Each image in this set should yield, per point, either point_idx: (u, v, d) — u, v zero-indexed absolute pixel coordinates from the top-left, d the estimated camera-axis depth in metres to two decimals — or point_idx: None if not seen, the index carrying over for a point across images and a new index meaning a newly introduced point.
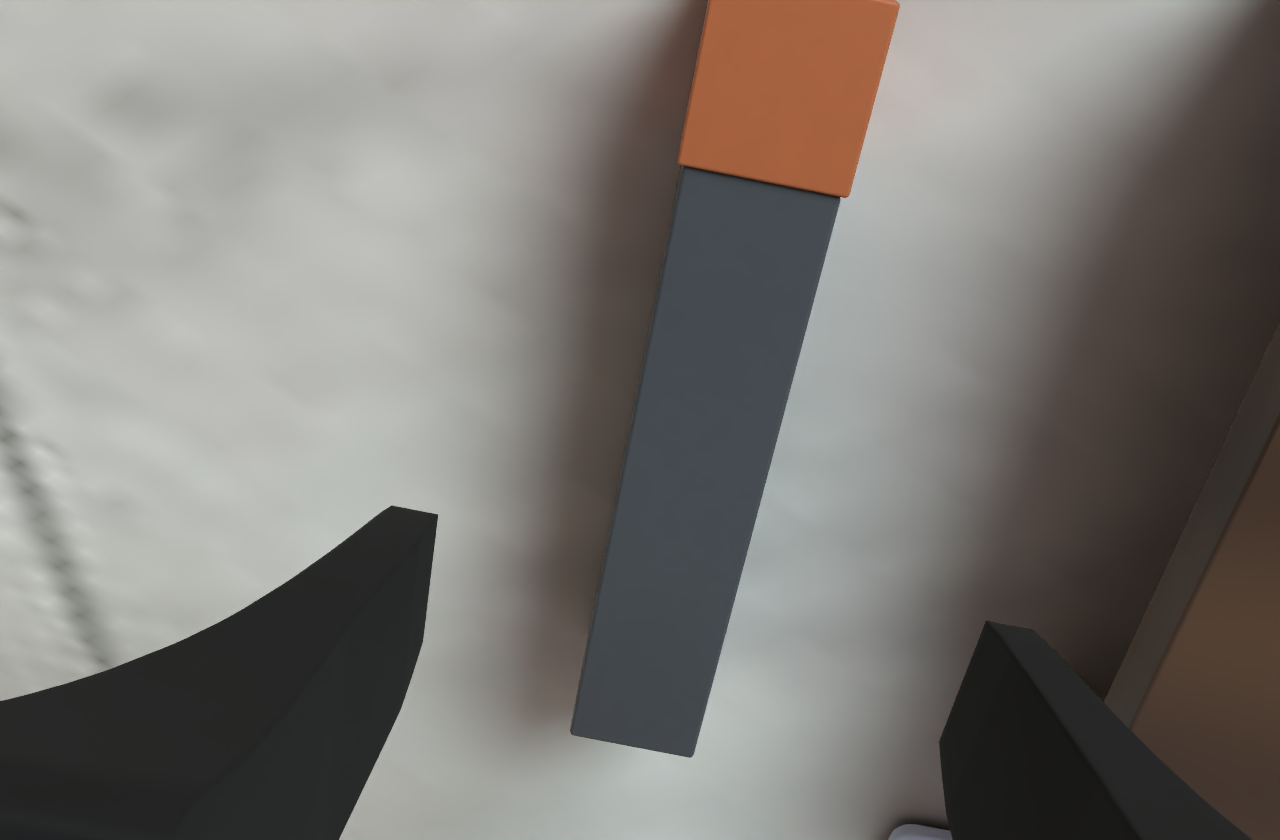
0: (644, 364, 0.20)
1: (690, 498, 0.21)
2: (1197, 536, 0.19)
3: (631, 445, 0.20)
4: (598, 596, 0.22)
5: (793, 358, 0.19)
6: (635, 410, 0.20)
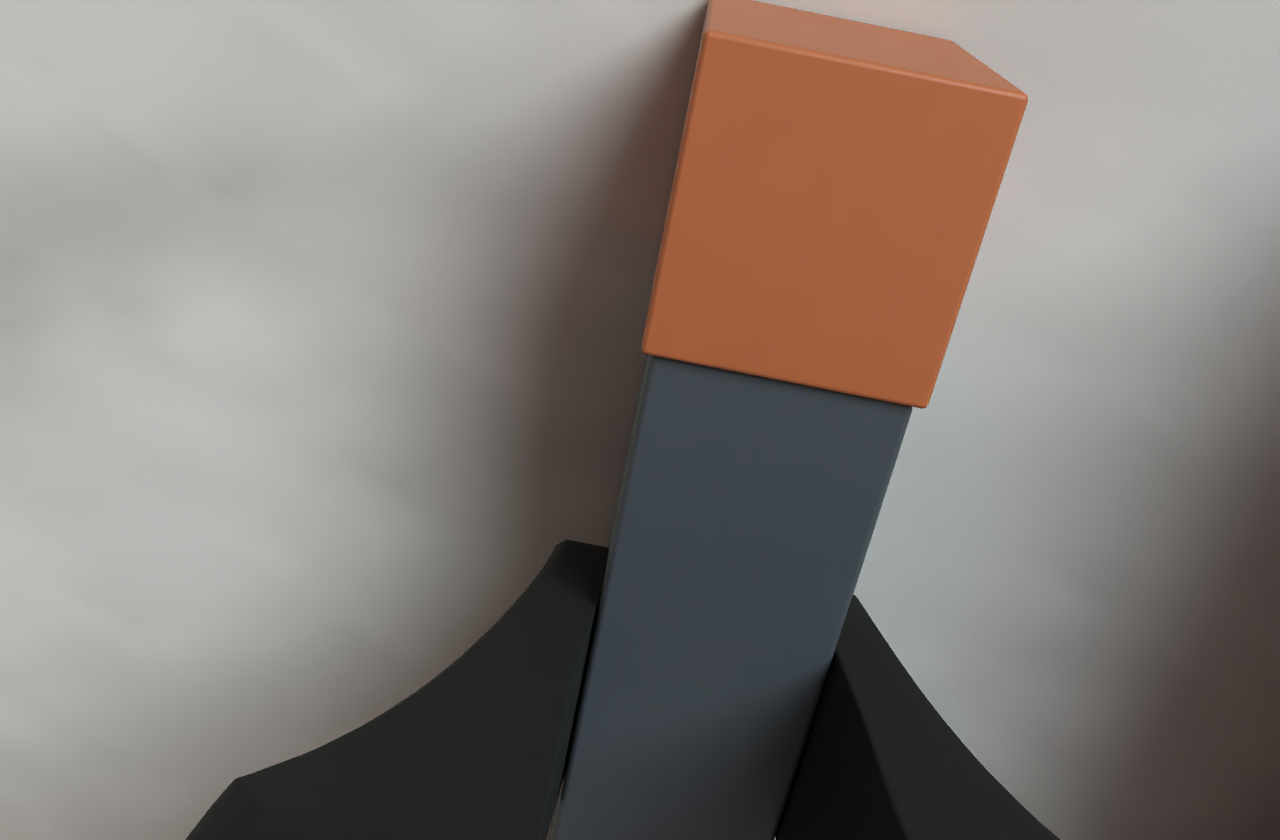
0: (593, 644, 0.12)
1: (668, 827, 0.13)
2: None
3: (575, 755, 0.13)
4: None
5: (831, 641, 0.12)
6: (581, 707, 0.13)
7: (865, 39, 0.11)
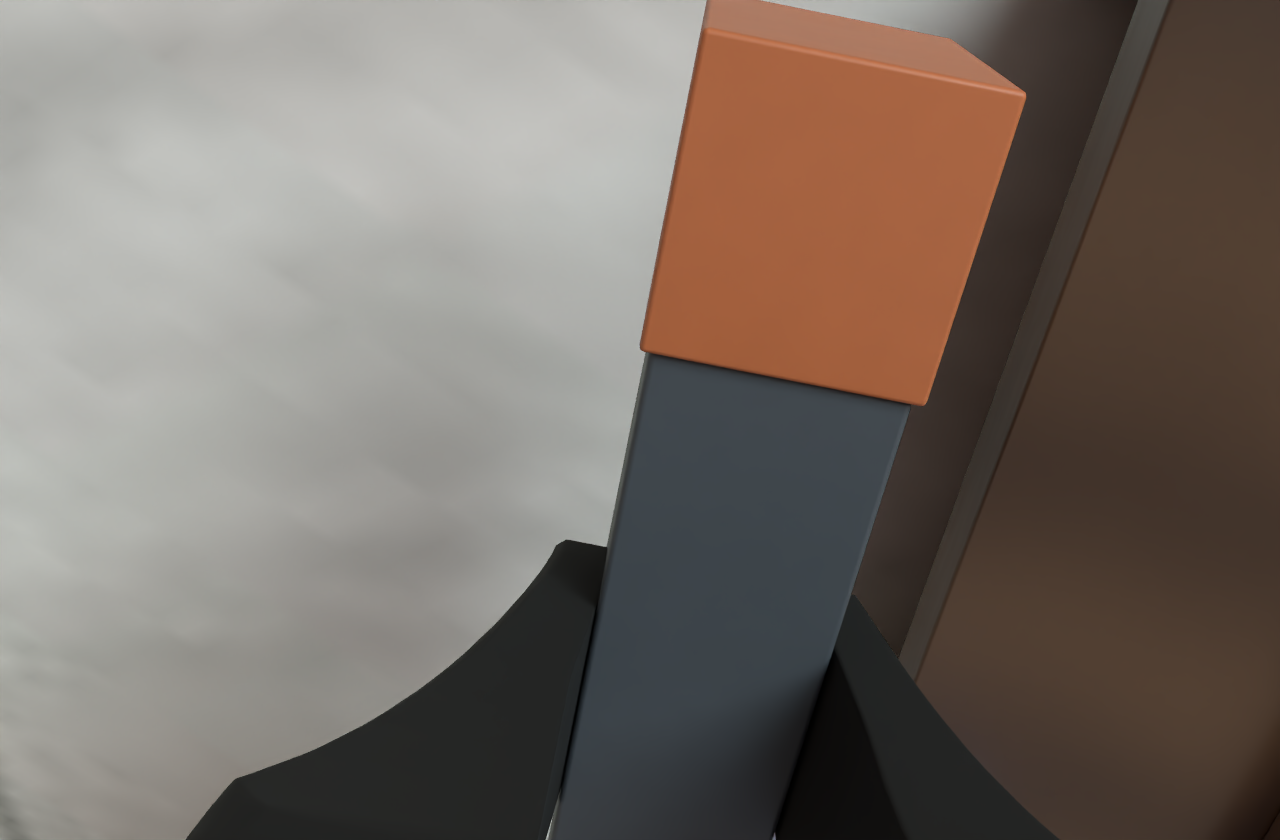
0: (592, 643, 0.12)
1: (666, 827, 0.13)
2: (958, 521, 0.19)
3: (574, 753, 0.13)
4: None
5: (829, 641, 0.12)
6: (579, 706, 0.13)
7: (863, 37, 0.11)
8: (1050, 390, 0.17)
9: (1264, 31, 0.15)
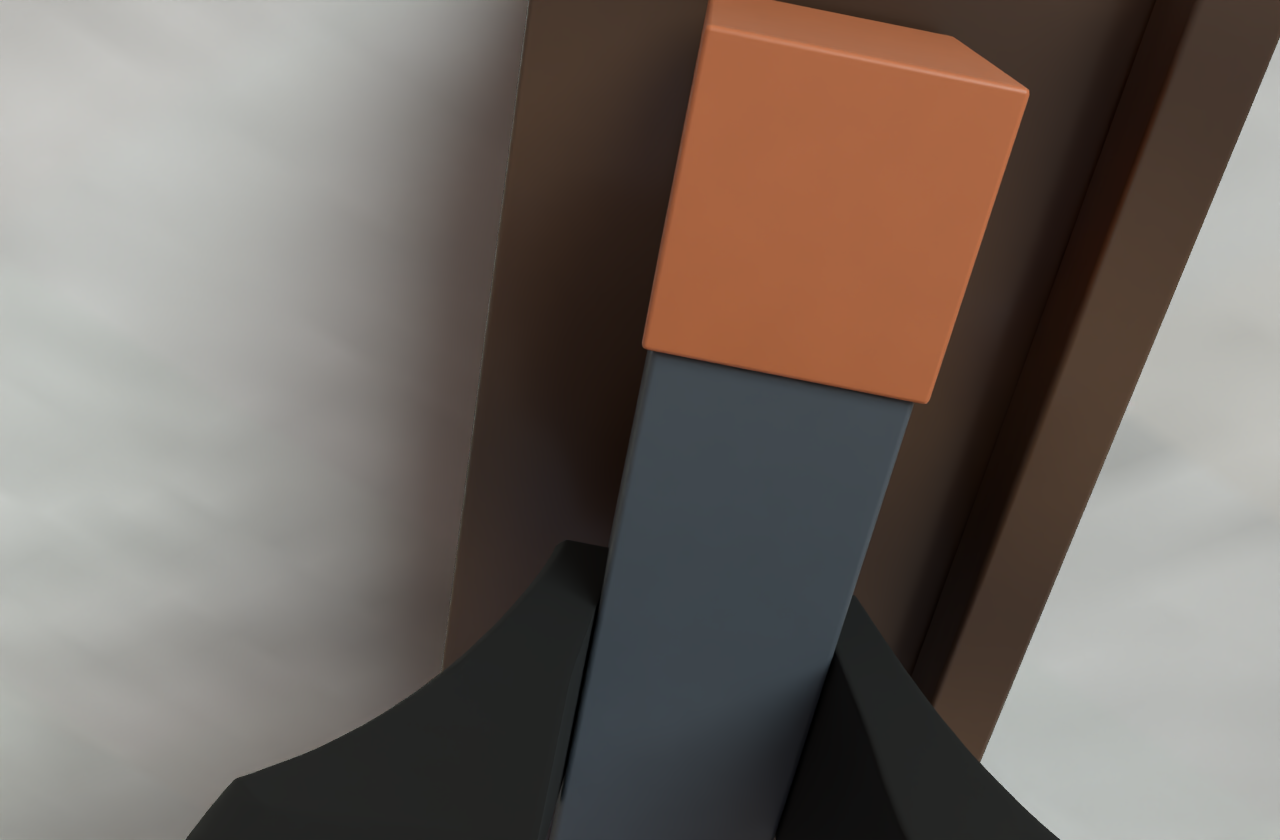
0: (594, 641, 0.12)
1: (668, 824, 0.13)
2: None
3: (575, 752, 0.13)
4: None
5: (831, 638, 0.12)
6: (581, 704, 0.13)
7: (866, 34, 0.11)
8: (506, 382, 0.15)
9: None
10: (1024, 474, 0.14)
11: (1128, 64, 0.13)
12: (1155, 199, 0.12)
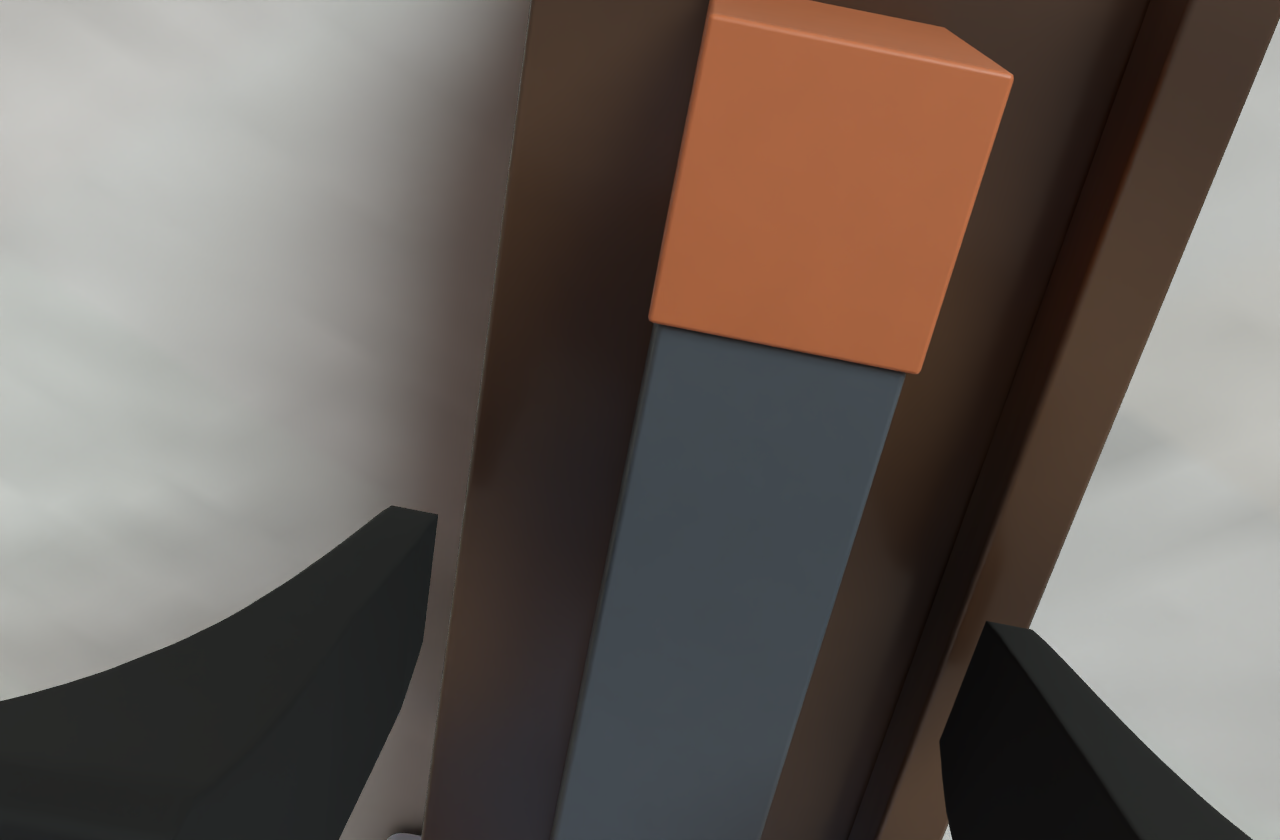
0: (602, 604, 0.13)
1: (673, 782, 0.14)
2: None
3: (584, 712, 0.14)
4: None
5: (828, 601, 0.13)
6: (589, 665, 0.13)
7: (861, 24, 0.12)
8: (509, 375, 0.15)
9: None
10: (1021, 466, 0.14)
11: (1124, 59, 0.13)
12: (1150, 193, 0.13)
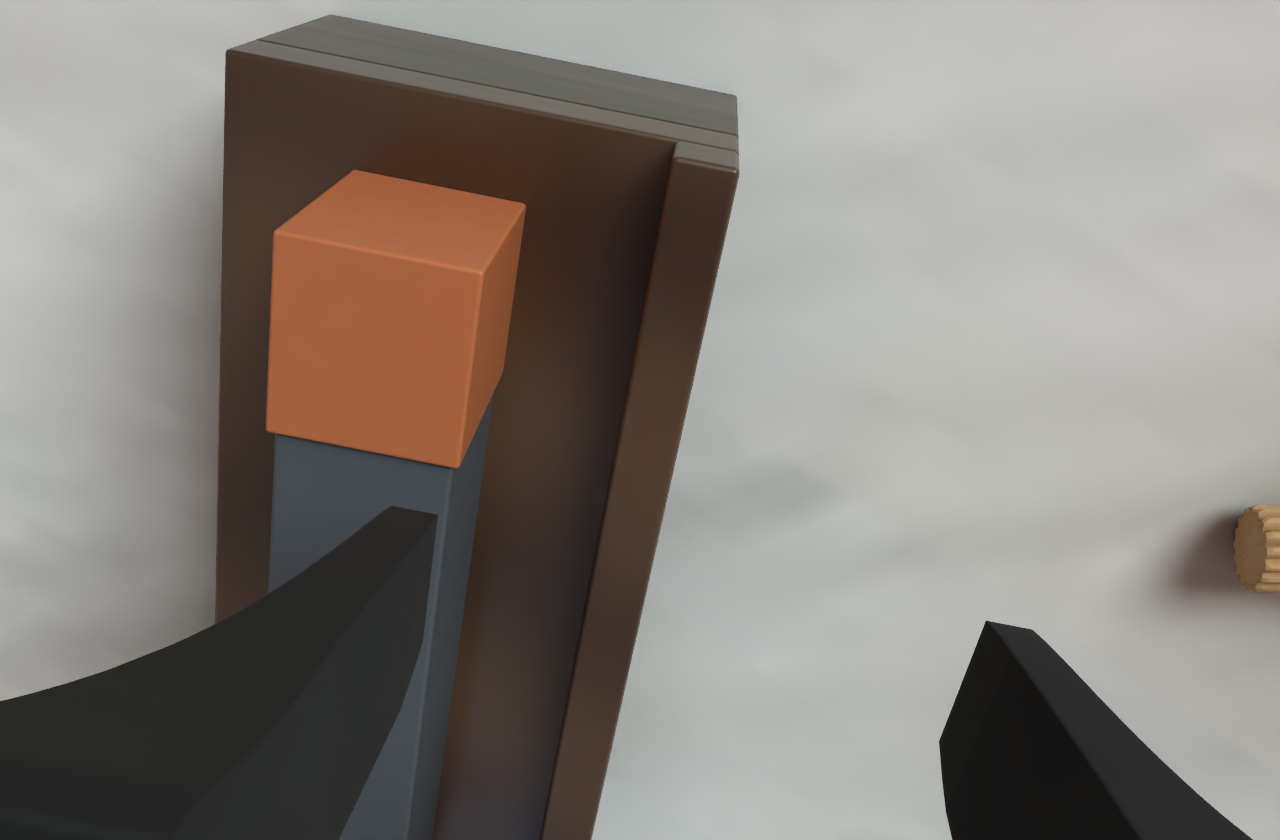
0: None
1: None
2: None
3: None
4: None
5: (427, 627, 0.17)
6: None
7: (423, 217, 0.16)
8: (238, 450, 0.20)
9: (303, 162, 0.18)
10: (606, 523, 0.19)
11: (657, 226, 0.18)
12: (662, 329, 0.17)
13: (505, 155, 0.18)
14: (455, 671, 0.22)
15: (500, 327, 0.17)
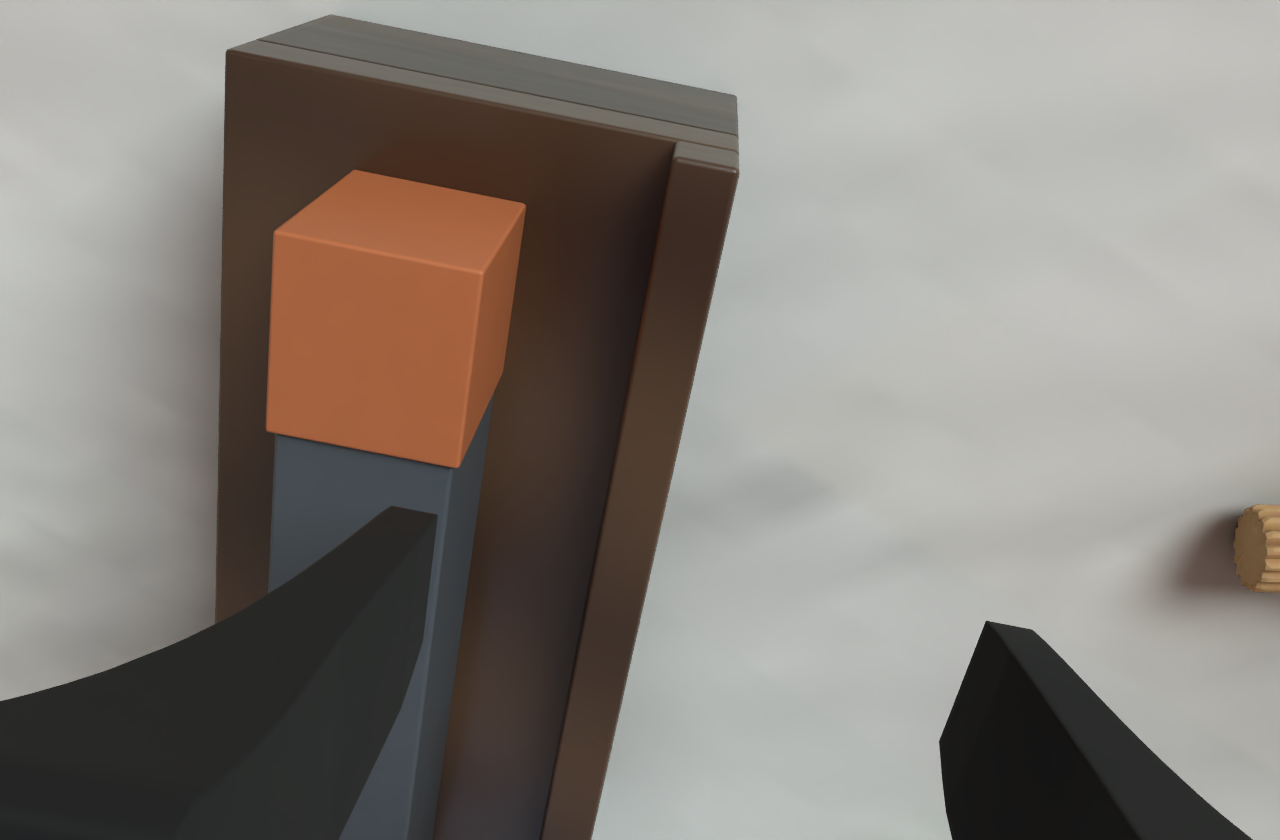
0: None
1: None
2: None
3: None
4: None
5: (427, 627, 0.17)
6: None
7: (423, 217, 0.16)
8: (238, 450, 0.20)
9: (303, 162, 0.18)
10: (606, 523, 0.19)
11: (657, 226, 0.18)
12: (662, 329, 0.17)
13: (505, 155, 0.18)
14: (455, 671, 0.22)
15: (500, 327, 0.17)
